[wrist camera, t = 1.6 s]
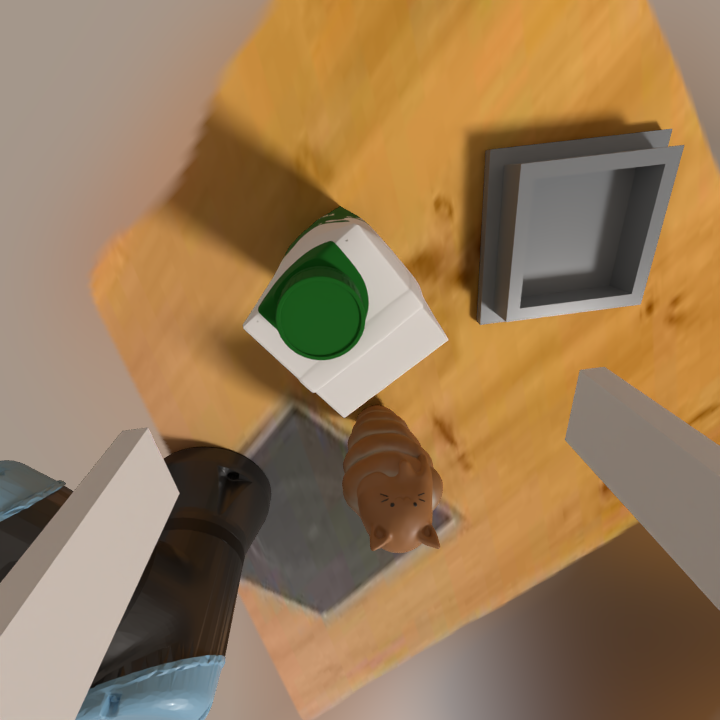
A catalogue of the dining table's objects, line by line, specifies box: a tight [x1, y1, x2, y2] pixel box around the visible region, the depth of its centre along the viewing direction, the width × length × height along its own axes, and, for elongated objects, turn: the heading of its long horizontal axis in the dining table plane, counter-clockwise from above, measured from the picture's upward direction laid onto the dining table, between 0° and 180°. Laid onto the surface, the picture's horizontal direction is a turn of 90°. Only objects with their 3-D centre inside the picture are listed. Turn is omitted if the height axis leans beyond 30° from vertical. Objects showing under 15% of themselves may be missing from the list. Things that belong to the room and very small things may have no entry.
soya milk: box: [243, 206, 448, 418], centre depth 25 cm, size 9×9×20 cm
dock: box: [477, 129, 684, 325], centre depth 33 cm, size 16×16×4 cm
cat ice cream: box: [342, 405, 443, 553], centre depth 35 cm, size 9×8×18 cm
